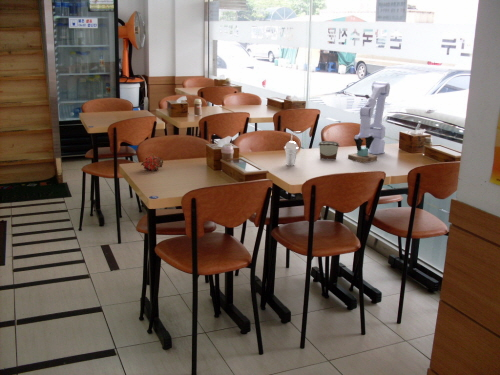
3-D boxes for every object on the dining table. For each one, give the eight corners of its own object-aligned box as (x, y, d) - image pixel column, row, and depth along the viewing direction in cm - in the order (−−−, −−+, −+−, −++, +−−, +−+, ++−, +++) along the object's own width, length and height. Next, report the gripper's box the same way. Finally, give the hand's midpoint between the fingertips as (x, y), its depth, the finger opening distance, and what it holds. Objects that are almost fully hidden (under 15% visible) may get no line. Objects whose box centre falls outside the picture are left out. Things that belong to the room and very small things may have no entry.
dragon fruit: (165, 172, 291) (143, 177, 288) (162, 160, 295) (140, 165, 293) (164, 162, 284) (142, 167, 281) (161, 150, 289) (138, 155, 286)
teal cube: (362, 154, 326) (362, 146, 325) (367, 155, 322) (368, 148, 321) (357, 155, 323) (357, 147, 322) (362, 156, 320) (363, 149, 318)
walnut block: (361, 157, 331) (361, 152, 331) (376, 161, 322) (377, 156, 321) (347, 159, 325) (348, 154, 324) (363, 163, 315) (363, 158, 315)
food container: (337, 157, 326) (339, 141, 324) (338, 159, 321) (339, 143, 318) (317, 156, 328) (318, 140, 325) (317, 159, 322) (318, 142, 319)
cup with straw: (289, 162, 312) (291, 128, 306) (301, 165, 306) (303, 130, 300) (280, 164, 306) (281, 130, 300) (292, 168, 300) (293, 132, 294)
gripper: (368, 124, 325) (366, 147, 329) (351, 127, 316) (349, 149, 320) (377, 126, 319) (375, 149, 323) (360, 129, 311) (358, 152, 315)
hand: (363, 149), depth 322 cm, fingers open, 7 cm apart
